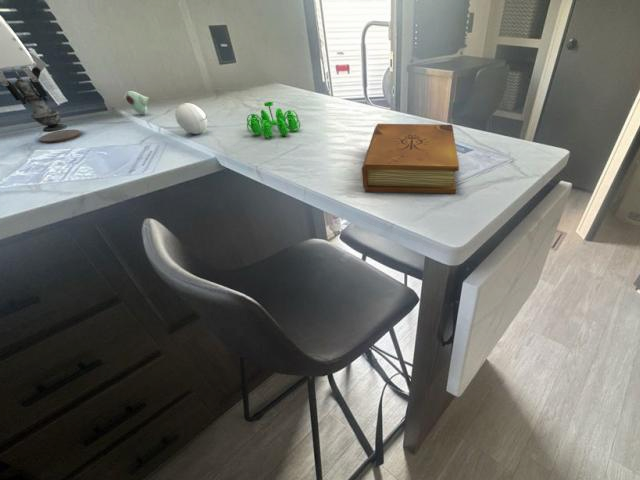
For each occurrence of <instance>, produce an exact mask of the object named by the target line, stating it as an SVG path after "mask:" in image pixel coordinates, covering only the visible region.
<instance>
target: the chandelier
mask: <svg viewBox="0 0 640 480" xmlns="http://www.w3.org/2000/svg"><path fill="white" fill-rule="evenodd" d="M272 106H274V103H273V101H266V102H264V107H268V109H269V113H270V115H269V113H268V112H267V111H266V110H265V109H261V110H260V116H259V115H258V114H256V113H250V114H249V115H248V116H247V118H246V122H247V123H246V129H247V131H248V132H249V133H250V134H251V135H253V136H255V137H258V136H261V135H262V134H263V135H264V137H265V138H266V139H270V138H271V137H272V135H273V130H272V126H277V128H278V133H279V134H280V135H282V136H283V137H287V136H288V130H289V131H290V132H297V131H299V130H300V128H301V122H300V120H299V119H300V118H299V116H298V114H297V112H296V111H295V110H293V109H288V110H286V111H285V112H283V110H282V108H281V107H278V108H276V110H275V118H276V119H274V116H273V112H272V109H271V107H272ZM250 116H251V117H250ZM270 117H271V118H270ZM286 121H287V122H286ZM249 127H250V128H249ZM250 129H251V130H250ZM251 131H252V132H251Z"/></svg>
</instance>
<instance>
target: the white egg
mask: <svg viewBox="0 0 640 480" xmlns="http://www.w3.org/2000/svg"><path fill="white" fill-rule="evenodd" d="M174 117H175V119H176V122H177V124H178V125H179V127H180V128H181V129H183V130H184V131H185V132H188V133H189V134H194V135H198V134H201V133H203V132H204V131H205V130H206V129H207V127H208V120H207V118H208V117H207V115H206V114H205V112H204V111H203V110H202V109H201V108H200V107H198V106H197V105H196V104H193V103H189V102H184V103H180V105H178V106H177V107H176V109H175V116H174Z"/></svg>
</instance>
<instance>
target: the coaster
mask: <svg viewBox="0 0 640 480" xmlns="http://www.w3.org/2000/svg"><path fill="white" fill-rule="evenodd" d="M81 135H82V132H81V130H79V129H72V128H71V129H62V130H59V131H54V132H47V133H46V134H44V135H41V136H39V141H40V142H41V143H43V144H57V143H63V142H67V141H71V140H74V139H77V138H78V137H81Z"/></svg>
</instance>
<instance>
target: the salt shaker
mask: <svg viewBox="0 0 640 480" xmlns="http://www.w3.org/2000/svg"><path fill="white" fill-rule="evenodd" d="M15 79H16V80H15V81H14V86H15V88H16V89H17V90H18V92H19V93H20V94H21V95H22V97H23V99H24V100H25V101H26V103H27V104H28V105H29V106H30V107H31V109H32V112H33V113H32V114H31V115H30V118H31V119H33V120H34V121H35V122H37V123H38V124H40V125H42V126H45V127H43V129H42V131H43V132H44V133H52V132H56V131H61V130H66V129H67V128H68V125H66V124H63V123H61V115H60V114H59V113H60V112H59V111H58V110H54V109H52V108H50V107H49V106H48V105H47V104H46V103H45V100H43V99H42V97H41V96H40V94H39V93H38V92H37V90H36V89H35V87H34V86H33V85H32V83H31V82H29V81H28V80H25V79H22V78H20V76H19V75H15Z"/></svg>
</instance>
